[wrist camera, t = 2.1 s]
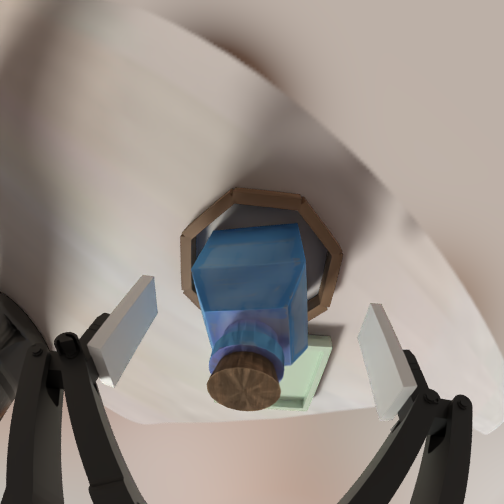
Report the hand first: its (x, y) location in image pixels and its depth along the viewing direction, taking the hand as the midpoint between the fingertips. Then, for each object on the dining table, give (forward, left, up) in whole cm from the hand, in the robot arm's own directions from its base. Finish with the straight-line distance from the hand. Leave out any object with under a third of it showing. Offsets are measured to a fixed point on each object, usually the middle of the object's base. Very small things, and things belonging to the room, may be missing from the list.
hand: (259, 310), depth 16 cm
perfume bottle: (0, 0, -6) cm, 6 cm away
